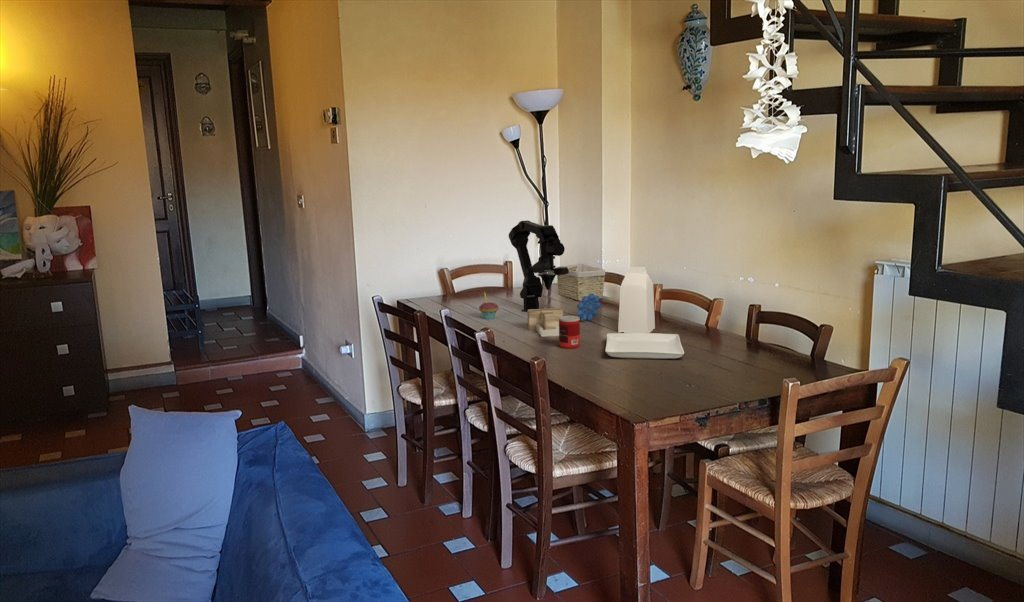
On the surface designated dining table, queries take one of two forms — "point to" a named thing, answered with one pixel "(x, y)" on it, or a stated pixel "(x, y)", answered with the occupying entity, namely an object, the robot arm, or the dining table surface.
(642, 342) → the square plate
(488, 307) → the cupcake
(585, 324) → the dining table surface
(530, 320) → the t block
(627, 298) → the milk
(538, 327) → the slot guide
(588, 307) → the grapes
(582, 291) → the storage basket
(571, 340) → the canned food
